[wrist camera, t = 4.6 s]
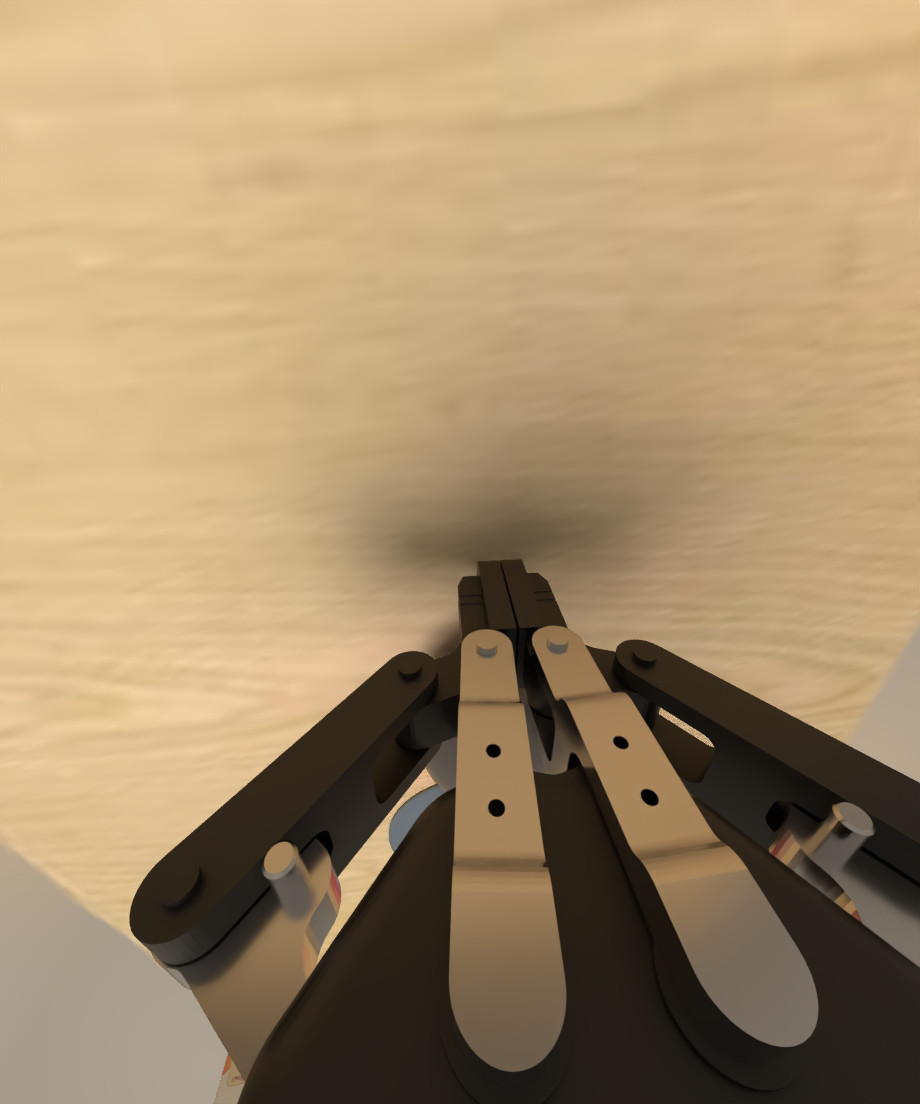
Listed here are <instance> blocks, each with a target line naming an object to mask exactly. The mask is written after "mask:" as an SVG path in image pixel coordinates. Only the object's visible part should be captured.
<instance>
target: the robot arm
mask: <svg viewBox="0 0 920 1104" xmlns="http://www.w3.org/2000/svg"><path fill="white" fill-rule="evenodd" d="M458 603H459V626H460V639H461V644H460V646H459V647H458V648H457V649H456V650H455V651H454V652H453V653H451V654H450V655H448V656H445V657H443V658H440V659H437V660H434V659H433V658H432V657H431V656H429V655H428V654H426V653H423V652H418V651H409V652H404V653H401V654H398V655H396V656H395V657H393V658H392V659H390V660H389V661H388V662H387V663H386V664H385V665H384V666H382V667H381V668H380V669H379V670H378V671H377V672H375V673H374V674H373V675H372V676H371V677H370V678H369V679H367V680H366V681H365V682H364V683H363V684H362V685H361V686H359V687H358V688H357V689H356V690H355V691H354V692H353V693H351V694H350V695H349V696H348V697H347V698H346V699H345V700H343V701H342V702H341V703H340V704H339V705H338V706H337V707H335V708H334V709H333V710H332V711H331V712H330V713H328V714H327V715H326V716H325V717H324V718H323V719H322V720H320V721H319V722H318V723H317V724H316V725H315V726H314V727H312V728H311V729H310V730H309V731H308V732H307V733H306V734H304V735H303V736H302V737H301V738H300V739H299V740H298V741H296V742H295V743H294V744H293V745H292V746H291V747H290V748H288V749H287V750H286V751H285V752H284V753H283V754H281V755H280V756H279V757H278V758H277V759H276V760H275V761H273V762H272V763H271V764H270V765H269V766H268V767H267V768H265V769H264V770H263V771H262V772H261V773H260V774H259V775H257V776H256V777H255V778H254V779H253V780H252V781H251V782H249V783H248V784H247V785H246V786H245V787H244V788H242V789H241V790H240V791H239V792H238V793H237V794H236V795H234V796H233V797H232V798H231V799H230V800H229V801H228V802H226V803H225V804H224V805H223V806H222V807H221V808H220V809H218V810H217V811H216V812H215V813H214V814H213V815H212V816H210V817H209V818H208V819H207V820H206V821H205V822H204V823H202V824H201V825H200V826H199V827H198V828H197V829H195V830H194V831H193V832H192V833H191V834H190V835H189V836H187V837H186V838H185V839H184V840H183V841H182V842H181V843H179V844H178V845H177V846H176V847H175V848H174V849H173V850H171V851H170V852H169V853H168V854H167V855H166V856H165V857H163V858H162V859H161V860H160V861H159V862H158V863H157V864H156V865H155V866H154V867H153V868H152V870H151V871H150V872H149V873H148V875H147V876H146V877H145V879H144V880H143V882H142V883H141V885H140V887H139V888H138V890H137V892H136V895H135V897H134V899H133V902H132V905H131V910H130V927H131V931H132V933H133V935H134V936H135V937H136V938H137V939H138V940H139V941H140V942H141V943H142V944H143V945H144V946H145V947H147V948H148V949H149V950H150V951H151V953H152V956H153V958H154V959H155V961H156V962H157V963H158V964H159V965H160V966H161V967H162V968H164V969H165V970H166V971H167V972H168V973H169V974H170V975H171V976H172V977H173V978H175V979H176V980H177V981H178V982H179V983H180V984H181V985H182V986H183V987H185V988H187V989H189V990H192V992H193V994H194V996H195V997H196V999H197V1001H198V1002H199V1004H200V1006H201V1008H202V1009H203V1011H204V1013H205V1014H206V1016H207V1018H208V1020H209V1021H210V1023H211V1025H212V1026H213V1028H214V1030H215V1031H216V1033H217V1035H218V1037H219V1038H220V1040H221V1042H222V1043H223V1045H224V1047H225V1048H226V1050H227V1052H228V1054H229V1056H230V1057H231V1059H232V1061H233V1062H234V1064H235V1066H236V1067H237V1069H238V1071H239V1073H240V1074H241V1076H242V1078H243V1079H244V1081H245V1084H244V1086H243V1089H242V1092H241V1094H240V1097H239V1100H238V1103H237V1104H920V783H919V782H917V781H915V780H913V779H911V778H909V777H907V776H906V775H904V774H902V773H900V772H898V771H896V770H894V769H892V768H890V767H888V766H886V765H884V764H883V763H881V762H879V761H877V760H875V759H873V758H871V757H869V756H867V755H865V754H863V753H862V752H859V751H858V750H856V749H854V748H852V747H850V746H848V745H846V744H844V743H843V742H841V741H839V740H837V739H835V738H833V737H831V736H829V735H827V734H825V733H823V732H822V731H820V730H818V729H816V728H814V727H812V726H810V725H808V724H806V723H804V722H802V721H801V720H799V719H797V718H795V717H793V716H791V715H789V714H787V713H785V712H783V711H781V710H780V709H778V708H776V707H774V706H772V705H770V704H768V703H766V702H764V701H762V700H760V699H759V698H757V697H755V696H753V695H751V694H749V693H747V692H745V691H743V690H741V689H739V688H738V687H736V686H734V685H732V684H730V683H728V682H726V681H724V680H722V679H720V678H718V677H717V676H715V675H713V674H711V673H709V672H707V671H705V670H703V669H701V668H699V667H697V666H696V665H694V664H692V663H690V662H688V661H686V660H684V659H682V658H680V657H678V656H676V655H675V654H673V653H671V652H669V651H667V650H665V649H663V648H661V647H659V646H657V645H655V644H653V643H650V642H647V641H643V640H628V641H624V642H622V643H621V644H619V646H618V647H617V649H616V652H614V651H608V650H603V649H597V648H593V647H590V646H587V645H585V644H584V642H583V641H582V639H581V638H580V636H579V635H578V634H576V633H575V632H574V631H572V630H570V629H568V627H567V625H566V623H565V621H564V618H563V616H562V614H561V611H560V609H559V607H558V604H557V602H556V601H555V597H554V595H553V593H552V590H551V588H550V586H549V583H548V581H547V580H546V579H544V578H543V577H542V576H541V575H540V574H538V573H526V570H525V567H524V564H523V562H522V560H521V559H517V560H500V562H499V561H478V562H477V576H466V577H463V578H462V580H461V581H460V583H459V585H458ZM521 688H525V689H526V694H527V705H526V710H527V714H528V717H529V721H530V724H531V727H532V730H533V733H534V736H535V739H536V742H537V745H538V748H539V751H540V754H541V758H542V761H543V764H544V767H545V770H546V774H545V773H540V772H535V771H533V769H532V761H531V754H530V747H529V740H528V732H527V725H526V718H525V711H524V705H523V702H522V701H520V700H519V693H518V689H521ZM660 708H662V709H664V710H666V711H667V712H669V713H670V714H672V715H674V716H675V717H677V718H678V719H680V720H682V721H683V722H685V723H686V724H688V725H690V726H691V727H693V728H694V729H696V730H698V731H699V732H701V733H702V734H704V735H705V736H706V737H708V738H709V740H710V741H711V742H712V743H713V745H714V748H713V747H710V746H708V745H707V744H705V743H703V742H702V741H700V740H699V739H697V738H695V737H694V736H692V735H691V734H689V733H688V732H686V731H685V730H683V729H681V728H680V727H678V726H677V725H675V724H674V723H672V722H670V721H669V720H667V719H666V718H664V717H663V716H661V715H659V711H660ZM456 736H458V741H457V773H456V787H454V788H453V789H451V790H449V791H447V792H445V793H444V794H442V795H441V796H439V797H438V798H436V799H435V800H434V801H433V802H432V803H431V804H430V805H428V807H427V808H426V809H425V810H424V811H423V812H422V813H421V814H420V816H419V817H418V818H417V820H416V821H415V823H414V824H413V826H412V827H411V828H410V830H409V831H408V833H407V834H406V836H405V837H404V839H403V840H402V842H401V843H400V845H399V846H398V847H397V849H396V850H395V852H394V853H393V855H392V856H391V858H390V859H389V861H388V862H387V864H386V865H385V866H384V868H383V869H382V871H381V872H380V874H379V875H378V877H377V878H376V880H375V881H374V882H373V884H372V885H371V887H370V888H369V890H368V891H367V893H366V894H365V896H364V897H363V899H362V900H361V901H360V903H359V904H358V906H357V907H356V909H355V910H354V912H353V913H352V915H351V916H350V918H349V919H348V920H347V922H346V923H345V925H344V926H343V928H342V929H341V931H340V932H339V934H338V935H337V937H336V938H335V939H334V941H333V942H332V944H331V945H330V947H329V948H328V950H327V951H326V953H325V954H324V955H323V957H322V958H321V960H320V961H319V963H318V964H317V960H318V955H319V952H320V949H321V946H322V944H323V942H324V940H325V938H326V936H327V934H328V933H329V931H330V929H331V927H332V926H333V924H334V922H335V920H336V917H337V915H338V912H339V908H340V903H341V887H340V883H339V880H338V876H339V875H340V874H341V872H342V871H343V870H344V869H345V867H346V866H347V865H348V864H349V862H350V861H351V860H352V858H353V857H354V856H355V855H356V853H357V852H358V851H359V850H360V848H361V847H362V846H363V845H364V843H365V842H366V841H367V840H368V838H369V837H370V836H371V835H372V833H373V832H374V831H375V830H376V828H377V827H378V826H379V825H380V823H381V822H382V821H383V820H384V818H385V817H386V816H387V815H388V813H389V812H390V811H391V810H392V808H393V807H394V806H395V805H396V803H397V802H398V801H399V800H400V798H401V797H402V796H403V795H404V793H405V792H406V791H407V790H408V788H409V787H410V786H411V785H412V783H413V782H414V781H415V780H416V778H417V777H418V776H419V775H420V773H421V772H422V771H423V770H424V768H425V767H426V766H427V765H428V763H429V762H430V761H431V760H432V758H433V757H434V756H435V755H436V753H437V752H438V751H439V749H440V747H441V744H442V742H444V741H446V740H449V739H451V738H454V737H456ZM316 965H317V966H316Z"/></svg>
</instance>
